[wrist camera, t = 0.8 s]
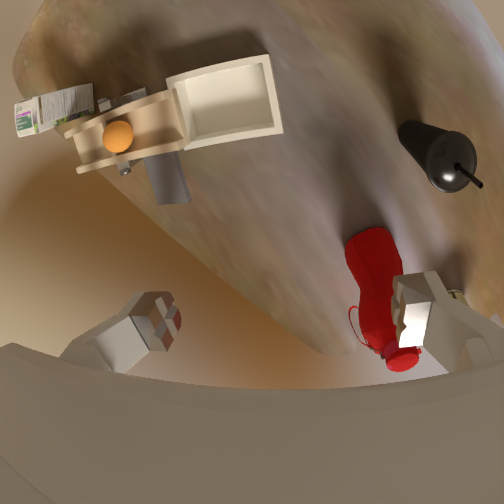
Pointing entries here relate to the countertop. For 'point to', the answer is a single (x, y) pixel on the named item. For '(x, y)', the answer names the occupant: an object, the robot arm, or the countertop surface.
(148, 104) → the lever
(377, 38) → the countertop surface
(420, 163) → the drinking cup
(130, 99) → the pivot stand
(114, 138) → the ball
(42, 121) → the syrup box
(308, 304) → the countertop surface
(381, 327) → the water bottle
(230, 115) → the white open tray
